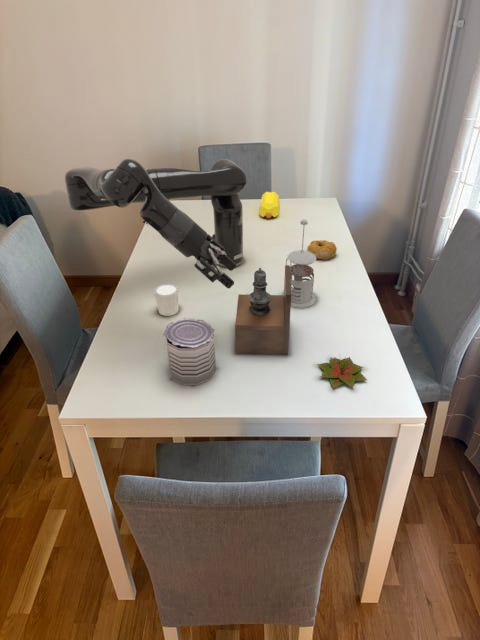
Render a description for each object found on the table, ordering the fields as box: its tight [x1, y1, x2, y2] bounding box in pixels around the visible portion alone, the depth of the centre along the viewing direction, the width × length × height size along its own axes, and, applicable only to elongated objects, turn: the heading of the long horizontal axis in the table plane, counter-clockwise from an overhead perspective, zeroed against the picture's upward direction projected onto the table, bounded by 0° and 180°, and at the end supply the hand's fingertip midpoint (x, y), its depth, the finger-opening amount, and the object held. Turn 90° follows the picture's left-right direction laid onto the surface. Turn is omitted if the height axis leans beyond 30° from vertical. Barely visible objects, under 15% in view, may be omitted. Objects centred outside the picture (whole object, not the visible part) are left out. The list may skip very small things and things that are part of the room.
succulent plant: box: [316, 353, 368, 389], centre depth 115 cm, size 12×12×5 cm
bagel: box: [306, 239, 338, 261], centre depth 166 cm, size 10×11×5 cm
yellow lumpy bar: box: [258, 191, 280, 219], centre depth 196 cm, size 18×7×8 cm
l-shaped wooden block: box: [234, 264, 292, 356], centre depth 123 cm, size 13×14×18 cm
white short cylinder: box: [153, 283, 180, 317], centre depth 138 cm, size 7×7×7 cm
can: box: [162, 317, 217, 386], centre depth 115 cm, size 11×11×12 cm
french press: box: [285, 218, 317, 309], centre depth 138 cm, size 10×12×25 cm
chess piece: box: [248, 267, 272, 315], centre depth 120 cm, size 6×6×12 cm
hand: (232, 276), depth 118 cm, fingers open, 8 cm apart
